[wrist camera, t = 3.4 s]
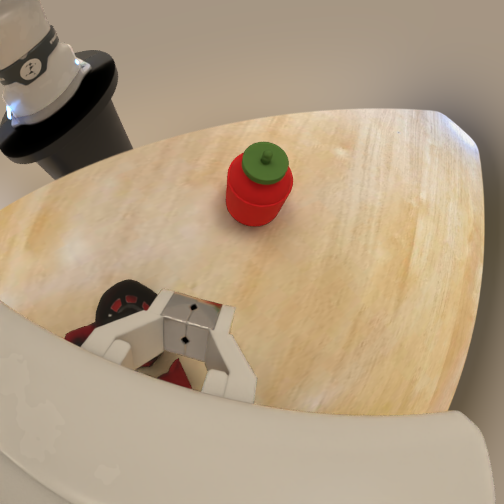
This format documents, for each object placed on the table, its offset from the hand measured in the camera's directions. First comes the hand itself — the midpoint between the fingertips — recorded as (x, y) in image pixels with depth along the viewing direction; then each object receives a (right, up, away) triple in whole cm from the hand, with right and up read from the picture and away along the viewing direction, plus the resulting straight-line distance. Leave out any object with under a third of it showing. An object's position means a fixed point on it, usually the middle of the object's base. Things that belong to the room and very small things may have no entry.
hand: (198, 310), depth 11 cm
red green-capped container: (+2, +8, +19) cm, 21 cm away
